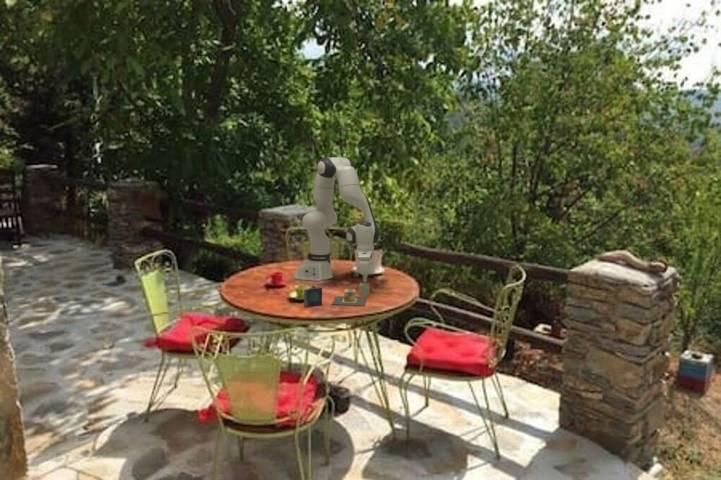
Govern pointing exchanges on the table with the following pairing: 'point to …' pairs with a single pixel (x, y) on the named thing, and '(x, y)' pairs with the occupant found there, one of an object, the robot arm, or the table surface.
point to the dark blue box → (313, 296)
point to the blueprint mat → (358, 302)
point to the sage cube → (364, 288)
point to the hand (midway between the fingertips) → (365, 279)
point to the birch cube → (349, 295)
